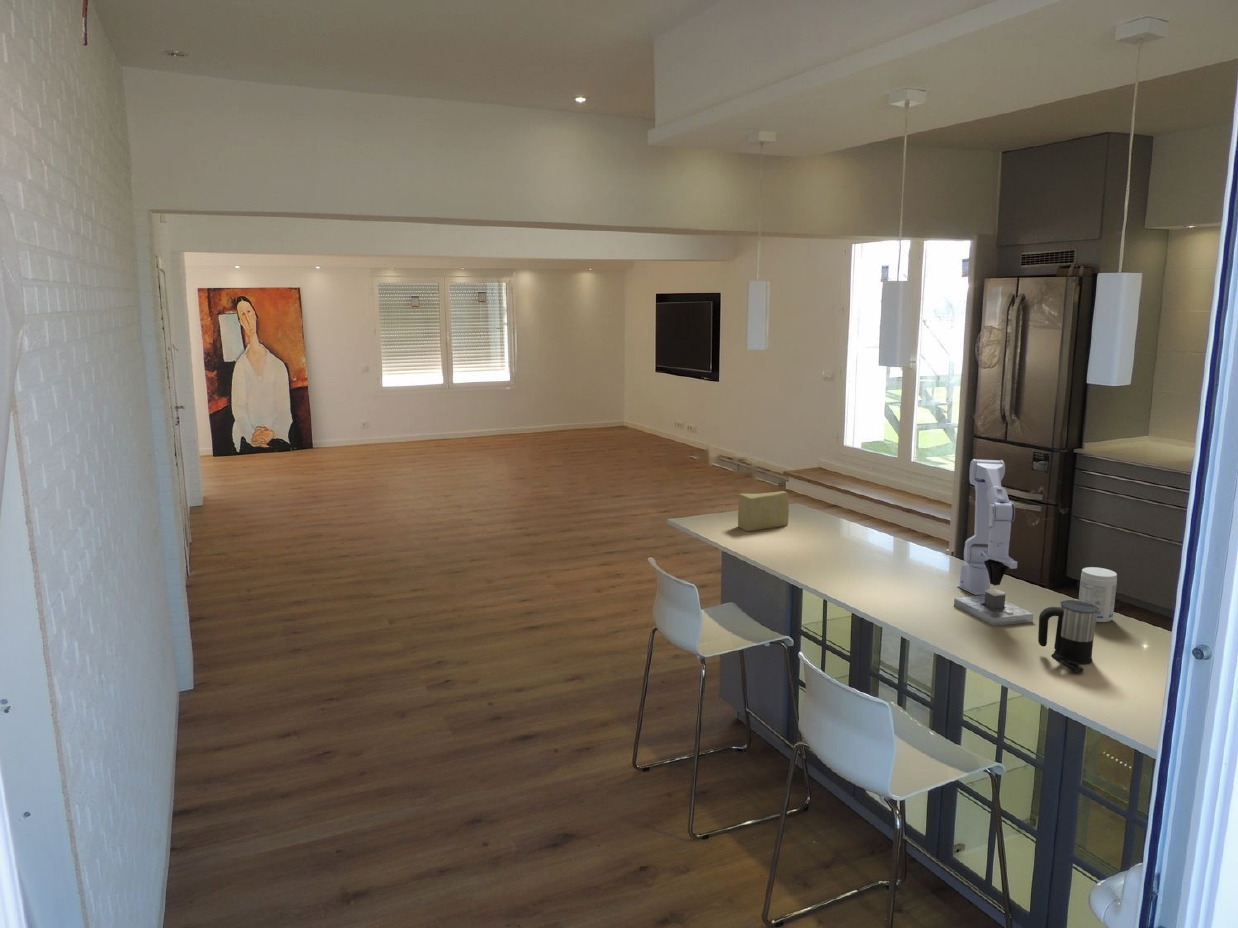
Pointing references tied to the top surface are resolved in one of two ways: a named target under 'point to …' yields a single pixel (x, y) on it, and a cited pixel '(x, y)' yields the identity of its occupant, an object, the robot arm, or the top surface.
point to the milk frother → (1071, 632)
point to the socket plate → (993, 611)
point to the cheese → (763, 510)
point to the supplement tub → (1099, 591)
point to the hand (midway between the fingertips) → (994, 584)
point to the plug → (994, 599)
